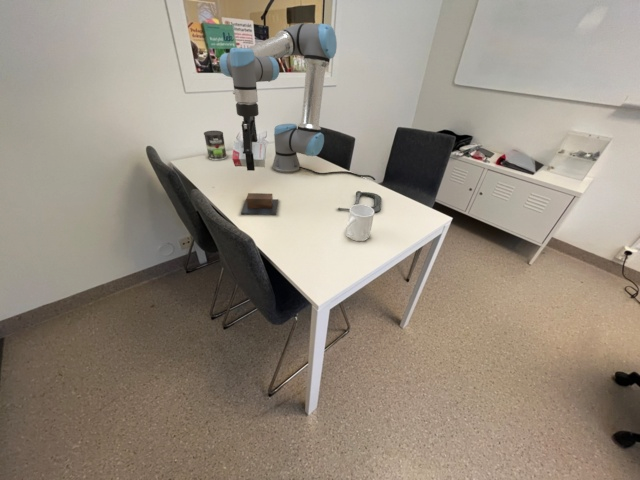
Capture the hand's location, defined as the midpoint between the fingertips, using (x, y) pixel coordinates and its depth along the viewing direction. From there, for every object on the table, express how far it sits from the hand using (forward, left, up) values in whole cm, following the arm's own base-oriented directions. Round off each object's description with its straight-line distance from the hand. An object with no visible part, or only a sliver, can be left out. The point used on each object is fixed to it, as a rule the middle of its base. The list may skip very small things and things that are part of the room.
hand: (253, 165), depth 104 cm
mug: (-37, +28, -17) cm, 49 cm away
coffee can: (+25, -59, -17) cm, 66 cm away
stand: (-2, +4, -17) cm, 17 cm away
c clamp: (-47, +3, -17) cm, 50 cm away
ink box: (+7, -1, +4) cm, 8 cm away
